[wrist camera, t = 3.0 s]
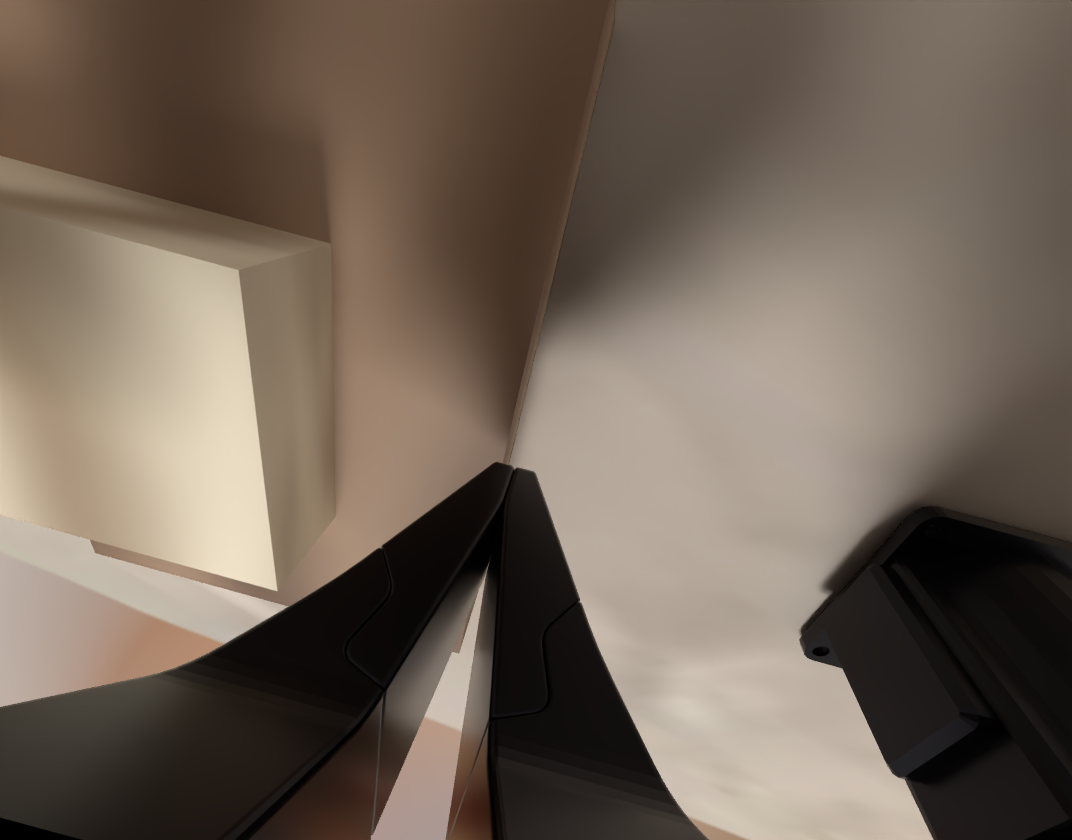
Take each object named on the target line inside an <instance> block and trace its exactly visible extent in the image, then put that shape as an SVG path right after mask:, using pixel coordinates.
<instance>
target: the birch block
mask: <svg viewBox="0 0 1072 840" xmlns="http://www.w3.org/2000/svg"><path fill="white" fill-rule="evenodd" d="M0 515H3V516H6V517H10V518H14V519H17V520H21V521H25V522H28V523H32V524H35V525H39V526H43V527H46V528H50V529H54V530H57V531H61V532H64V533H68V534H72V535H75V536H79V537H83V538H86V539H90V540H93V541H97V542H101V543H104V544H108V545H111V546H115V547H119V548H122V549H126V550H130V551H133V552H137V553H140V554H144V555H148V556H151V557H155V558H159V559H162V560H166V561H169V562H173V563H177V564H180V565H184V566H188V567H191V568H195V569H198V570H202V571H206V572H209V573H213V574H217V575H220V576H224V577H227V578H231V579H235V580H238V581H242V582H246V583H249V584H253V585H256V586H260V587H264V588H267V589H271V590H275V591H278V590H279V589H280V587H281V586H282V585H283V583H284V582H285V581H286V580H287V578H288V577H289V576H290V575H291V573H292V572H293V571H294V569H295V568H296V567H297V566H298V564H299V563H300V562H301V560H302V559H303V558H304V557H305V555H306V554H307V553H308V551H309V550H310V549H311V548H312V546H313V545H314V544H315V542H316V541H317V540H318V539H319V537H320V536H321V535H322V534H323V532H324V531H325V530H326V528H327V527H328V526H329V525H330V523H331V522H332V521H333V519H334V518H335V459H334V393H333V328H332V262H331V244H330V243H326V242H323V241H319V240H315V239H311V238H308V237H304V236H300V235H296V234H293V233H289V232H285V231H281V230H278V229H274V228H270V227H266V226H263V225H259V224H255V223H251V222H247V221H244V220H240V219H236V218H232V217H229V216H225V215H221V214H217V213H214V212H210V211H206V210H202V209H199V208H195V207H191V206H187V205H184V204H180V203H176V202H172V201H169V200H165V199H161V198H157V197H154V196H150V195H146V194H142V193H138V192H135V191H131V190H127V189H123V188H120V187H116V186H112V185H108V184H105V183H101V182H97V181H93V180H90V179H86V178H82V177H78V176H75V175H71V174H67V173H63V172H60V171H56V170H52V169H48V168H45V167H41V166H37V165H33V164H29V163H26V162H22V161H18V160H14V159H11V158H7V157H3V156H0Z"/></svg>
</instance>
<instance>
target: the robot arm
mask: <svg viewBox="0 0 1072 840" xmlns="http://www.w3.org/2000/svg"><path fill="white" fill-rule="evenodd" d="M931 525H933V526H931ZM929 526H931V527H929ZM490 557H491V558H490ZM489 561H490V562H489ZM488 564H489V566H488ZM487 567H488V570H487ZM486 570H487V574H486V579H485V585H484V591H483V598H482V605H481V611H480V618H479V624H478V631H477V637H476V644H475V650H474V657H473V664H472V670H471V677H470V683H469V690H468V696H467V703H466V709H465V716H464V722H463V729H462V736H461V742H460V749H459V755H458V762H457V769H456V775H455V782H454V788H453V795H452V801H451V808H450V814H449V821H448V827H447V834H446V840H709V839H707V837H706V836H705V835H703V833H702V832H701V831H700V830H698V828H697V827H696V826H695V825H694V824H693V823H692V822H691V821H690V819H689V818H688V817H687V815H686V814H685V813H684V812H683V810H682V809H681V808H680V806H679V805H678V804H677V802H676V801H675V799H674V798H673V796H672V795H671V793H670V792H669V790H668V788H667V787H666V785H665V783H664V782H663V780H662V778H661V776H660V774H659V772H658V770H657V769H656V767H655V765H654V763H653V761H652V759H651V757H650V755H649V752H648V750H647V748H646V746H645V744H644V742H643V740H642V738H641V736H640V734H639V732H638V730H637V728H636V726H635V724H634V722H633V720H632V718H631V716H630V714H629V712H628V710H627V708H626V706H625V704H624V702H623V699H622V697H621V695H620V693H619V691H618V689H617V687H616V685H615V683H614V681H613V679H612V677H611V675H610V672H609V670H608V668H607V666H606V664H605V662H604V659H603V657H602V655H601V653H600V651H599V648H598V646H597V643H596V641H595V638H594V636H593V633H592V630H591V628H590V625H589V623H588V620H587V617H586V614H585V611H584V608H583V606H582V603H580V598H579V595H578V592H577V589H576V586H575V584H574V581H573V578H572V575H571V572H570V569H569V567H568V564H567V561H566V558H565V555H564V552H563V549H562V547H561V544H560V541H559V538H558V535H557V532H556V530H555V527H554V524H553V521H552V518H551V515H550V513H549V510H548V507H547V504H546V501H545V498H544V496H543V493H542V490H541V487H540V484H539V481H538V479H537V476H536V473H535V472H533V471H530V470H526V469H522V468H516V469H515V470H514V467H513V466H511V465H507V464H504V463H500V462H494V463H493V464H491V465H490V466H489V467H487V468H486V469H484V470H483V471H482V472H480V473H479V474H478V475H476V476H475V477H474V478H472V479H471V480H470V481H468V482H467V483H466V484H464V485H463V486H461V487H460V488H459V489H457V490H456V491H455V492H453V493H452V494H451V495H449V496H448V497H447V498H445V499H444V500H443V501H441V502H440V503H438V504H437V505H436V506H434V507H433V508H432V509H430V510H429V511H428V512H426V513H425V514H424V515H422V516H421V517H420V518H418V519H417V520H415V521H414V522H413V523H411V524H410V525H409V526H407V527H406V528H405V529H403V530H402V531H401V532H399V533H398V534H396V535H395V536H394V537H392V538H391V539H390V540H388V541H387V542H386V543H384V544H383V545H382V546H381V548H377V549H376V550H374V551H373V552H372V553H370V554H369V555H368V556H366V557H365V558H364V559H362V560H361V561H360V562H358V563H357V564H355V565H354V566H352V567H351V568H349V569H348V570H347V571H345V572H344V573H342V574H341V575H339V576H338V577H336V578H335V579H333V580H332V581H330V582H328V583H327V584H325V585H323V586H322V587H320V588H319V589H317V590H315V591H314V592H312V593H311V594H309V595H307V596H306V597H304V598H302V599H301V600H299V601H297V602H295V603H294V604H292V605H290V606H289V607H287V608H285V609H284V610H282V611H280V612H278V613H277V614H275V615H273V616H272V617H270V618H268V619H266V620H265V621H263V622H261V623H260V624H258V625H256V626H255V627H253V628H251V629H249V630H248V631H246V632H244V633H243V634H241V635H239V636H237V637H236V638H234V639H232V640H231V641H229V642H227V643H226V644H224V645H222V646H220V647H218V648H217V649H215V650H213V651H211V652H209V653H207V654H205V655H203V656H201V657H199V658H197V659H195V660H193V661H191V662H188V663H186V664H183V665H181V666H178V667H176V668H173V669H170V670H167V671H164V672H161V673H157V674H153V675H149V676H145V677H140V678H135V679H130V680H126V681H121V682H116V683H112V684H107V685H102V686H98V687H93V688H88V689H83V690H79V691H74V692H69V693H65V694H60V695H55V696H50V697H46V698H41V699H36V700H31V701H27V702H22V703H17V704H13V705H8V706H3V707H0V840H371V835H373V833H374V831H375V829H376V826H377V824H378V822H379V819H380V817H381V815H382V813H383V810H384V808H385V806H386V803H387V801H388V799H389V796H390V794H391V792H392V789H393V787H394V785H395V782H396V780H397V778H398V776H399V773H400V771H401V768H402V766H403V764H404V762H405V759H406V757H407V755H408V752H409V750H410V748H411V745H412V743H413V741H414V738H415V736H416V734H417V731H418V729H419V727H420V724H421V722H422V720H423V718H424V715H425V713H426V711H427V708H428V706H429V704H430V701H431V699H432V697H433V694H434V692H435V690H436V688H437V685H438V683H439V681H440V678H441V676H442V674H443V671H444V669H445V667H446V664H447V662H448V660H449V657H450V655H451V653H452V650H453V648H454V646H455V644H456V641H457V639H458V637H459V634H460V632H461V630H462V627H463V625H464V623H465V620H466V618H467V616H468V613H469V611H470V609H471V606H472V604H473V602H474V600H475V597H476V595H477V593H478V590H479V588H480V586H481V583H482V581H483V578H484V576H485V573H486ZM800 645H801V647H802V650H803V652H804V655H805V656H806V657H807V658H809V659H811V660H814V661H818V662H821V663H825V664H829V665H832V666H836V667H839V668H843V671H844V673H845V675H846V677H847V679H848V681H849V684H850V686H851V688H852V690H853V692H854V694H855V697H856V699H857V701H858V703H859V705H860V707H861V710H862V712H863V714H864V716H865V718H866V720H867V723H868V725H869V727H870V729H871V731H872V733H873V736H874V738H875V740H876V742H877V744H878V746H879V749H880V751H881V753H882V755H883V757H884V759H885V762H886V764H887V766H888V767H889V769H890V770H891V772H892V773H893V774H894V775H895V776H897V777H898V778H902V779H905V781H906V783H907V785H908V787H909V789H910V791H911V793H912V796H913V798H914V800H915V802H916V804H917V806H918V808H919V810H920V812H921V814H922V816H923V818H924V821H925V823H926V825H927V827H928V829H929V831H930V833H931V835H932V837H933V839H934V840H1072V543H1070V542H1067V541H1063V540H1059V539H1055V538H1052V537H1048V536H1044V535H1041V534H1037V533H1033V532H1029V531H1026V530H1022V529H1018V528H1015V527H1011V526H1007V525H1003V524H1000V523H996V522H992V521H988V520H985V519H981V518H977V517H974V516H970V515H966V514H962V513H959V512H955V511H951V510H948V509H944V508H940V507H932V506H930V507H924V508H921V509H918V510H916V511H914V512H913V513H911V514H910V515H909V516H908V517H907V518H906V519H905V520H904V521H903V522H902V524H901V525H900V526H899V527H898V528H897V529H896V530H895V531H894V533H893V534H892V535H891V536H890V537H889V538H888V539H887V540H886V542H885V543H884V544H883V545H882V546H881V547H880V548H879V549H878V551H877V552H876V553H875V554H874V555H873V556H872V557H871V558H870V560H869V561H868V562H867V563H866V564H865V565H864V566H863V567H862V569H861V570H860V571H859V572H858V573H857V574H856V575H855V576H854V578H853V579H852V580H851V581H850V582H849V583H848V584H847V585H846V586H845V588H844V589H843V590H842V591H841V592H840V593H839V594H838V595H837V597H836V598H835V599H834V600H833V601H832V602H831V603H830V604H829V606H828V607H827V608H826V609H825V610H824V611H823V612H822V613H821V615H820V616H819V617H818V618H817V619H816V620H815V621H814V622H813V624H812V625H811V626H810V627H809V628H808V629H807V630H806V631H805V633H804V634H803V635H802V636H801V638H800Z"/></svg>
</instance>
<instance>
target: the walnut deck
mask: <svg viewBox="0 0 1072 840" xmlns="http://www.w3.org/2000/svg"><path fill="white" fill-rule="evenodd" d="M614 19H615V0H0V156H3V157H7V158H11V159H14V160H18V161H22V162H26V163H29V164H33V165H37V166H41V167H45V168H48V169H52V170H56V171H60V172H63V173H67V174H71V175H75V176H78V177H82V178H86V179H90V180H93V181H97V182H101V183H105V184H108V185H112V186H116V187H120V188H123V189H127V190H131V191H135V192H138V193H142V194H146V195H150V196H154V197H157V198H161V199H165V200H169V201H172V202H176V203H180V204H184V205H187V206H191V207H195V208H199V209H202V210H206V211H210V212H214V213H217V214H221V215H225V216H229V217H232V218H236V219H240V220H244V221H247V222H251V223H255V224H259V225H263V226H266V227H270V228H274V229H278V230H281V231H285V232H289V233H293V234H296V235H300V236H304V237H308V238H311V239H315V240H319V241H323V242H326V243H330V244H331V262H332V328H333V393H334V459H335V518H334V519H333V521H332V522H331V523H330V525H329V526H328V527H327V528H326V530H325V531H324V532H323V534H322V535H321V536H320V537H319V539H318V540H317V541H316V542H315V544H314V545H313V546H312V548H311V549H310V550H309V551H308V553H307V554H306V555H305V557H304V558H303V559H302V560H301V562H300V563H299V564H298V566H297V567H296V568H295V569H294V571H293V572H292V573H291V575H290V576H289V577H288V578H287V580H286V581H285V582H284V583H283V585H282V586H281V587H280V589H279V590H278V591H275V590H271V589H267V588H264V587H260V586H256V585H253V584H249V583H246V582H242V581H238V580H235V579H231V578H227V577H224V576H220V575H217V574H213V573H209V572H206V571H202V570H198V569H195V568H191V567H188V566H184V565H180V564H177V563H173V562H169V561H166V560H162V559H159V558H155V557H151V556H148V555H144V554H140V553H137V552H133V551H130V550H126V549H122V548H119V547H115V546H111V545H108V544H104V543H101V542H97V541H93V540H90V541H91V544H92V546H93V548H94V551H95V553H97V554H101V555H105V556H108V557H112V558H115V559H119V560H123V561H126V562H130V563H134V564H137V565H141V566H144V567H148V568H152V569H155V570H159V571H163V572H166V573H170V574H173V575H177V576H181V577H184V578H188V579H191V580H195V581H199V582H202V583H206V584H210V585H213V586H217V587H220V588H224V589H228V590H231V591H235V592H239V593H242V594H246V595H249V596H253V597H257V598H260V599H264V600H267V601H271V602H275V603H278V604H282V605H286V606H290V605H292V604H294V603H295V602H297V601H299V600H301V599H302V598H304V597H306V596H307V595H309V594H311V593H312V592H314V591H315V590H317V589H319V588H320V587H322V586H323V585H325V584H327V583H328V582H330V581H332V580H333V579H335V578H336V577H338V576H339V575H341V574H342V573H344V572H345V571H347V570H348V569H349V568H351V567H352V566H354V565H355V564H357V563H358V562H360V561H361V560H362V559H364V558H365V557H366V556H368V555H369V554H370V553H372V552H373V551H374V550H376V549H377V548H381V546H382V545H383V544H384V543H386V542H387V541H388V540H390V539H391V538H392V537H394V536H395V535H396V534H398V533H399V532H401V531H402V530H403V529H405V528H406V527H407V526H409V525H410V524H411V523H413V522H414V521H415V520H417V519H418V518H420V517H421V516H422V515H424V514H425V513H426V512H428V511H429V510H430V509H432V508H433V507H434V506H436V505H437V504H438V503H440V502H441V501H443V500H444V499H445V498H447V497H448V496H449V495H451V494H452V493H453V492H455V491H456V490H457V489H459V488H460V487H461V486H463V485H464V484H466V483H467V482H468V481H470V480H471V479H472V478H474V477H475V476H476V475H478V474H479V473H480V472H482V471H483V470H484V469H486V468H487V467H489V466H490V465H491V464H493V463H494V462H500V463H504V464H507V465H509V461H510V457H511V453H512V448H513V444H514V440H515V436H516V432H517V427H518V423H519V419H520V415H521V411H522V406H523V402H524V398H525V394H526V390H527V386H528V381H529V377H530V373H531V369H532V365H533V360H534V356H535V352H536V348H537V344H538V340H539V335H540V331H541V327H542V323H543V319H544V314H545V310H546V306H547V302H548V298H549V293H550V289H551V285H552V281H553V277H554V273H555V268H556V264H557V260H558V256H559V252H560V247H561V243H562V239H563V235H564V231H565V226H566V222H567V218H568V214H569V210H570V206H571V201H572V197H573V193H574V189H575V185H576V180H577V176H578V172H579V168H580V164H581V160H582V155H583V151H584V147H585V143H586V139H587V134H588V130H589V126H590V122H591V118H592V113H593V109H594V105H595V101H596V97H597V93H598V88H599V84H600V80H601V76H602V72H603V67H604V63H605V59H606V55H607V51H608V47H609V42H610V38H611V34H612V30H613V26H614ZM476 597H477V595H476ZM476 597H475V600H476ZM475 600H474V602H473V604H472V606H471V609H470V611H469V613H468V616H467V618H466V620H465V623H464V625H463V627H462V630H461V632H460V634H459V637H458V639H457V641H456V644H455V646H454V648H453V650H452V652H456V653H459V652H460V648H461V645H462V642H463V639H464V635H465V632H466V629H467V626H468V623H469V619H470V616H471V613H472V610H473V606H474V603H475Z"/></svg>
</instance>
